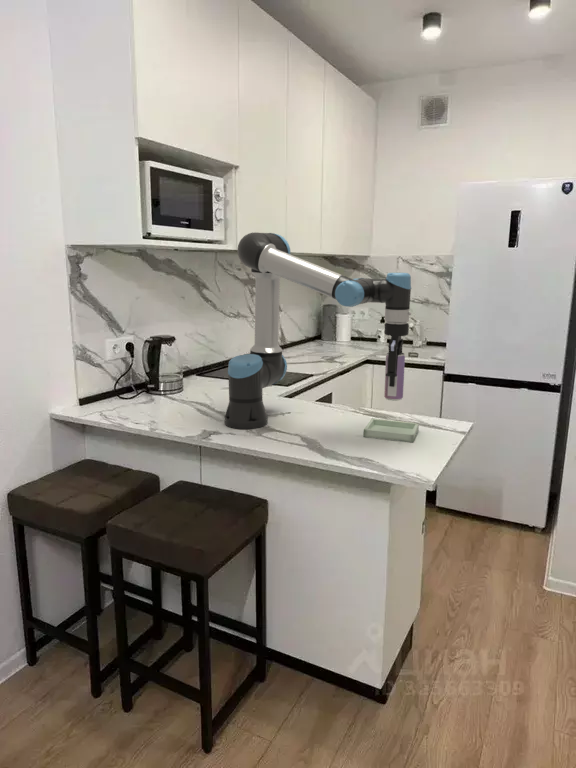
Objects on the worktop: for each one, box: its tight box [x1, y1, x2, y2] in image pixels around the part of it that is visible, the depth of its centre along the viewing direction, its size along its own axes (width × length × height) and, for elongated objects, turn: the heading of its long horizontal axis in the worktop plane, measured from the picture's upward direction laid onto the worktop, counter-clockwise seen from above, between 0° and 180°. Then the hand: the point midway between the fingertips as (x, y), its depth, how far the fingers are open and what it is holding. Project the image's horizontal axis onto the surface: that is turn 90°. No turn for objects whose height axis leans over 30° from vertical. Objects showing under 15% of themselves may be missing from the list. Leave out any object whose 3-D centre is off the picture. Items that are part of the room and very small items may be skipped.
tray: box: [363, 417, 420, 443], centre depth 183 cm, size 16×13×2 cm
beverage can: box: [383, 351, 406, 402], centre depth 178 cm, size 6×6×15 cm
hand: (393, 393), depth 180 cm, fingers closed on beverage can, 6 cm apart
